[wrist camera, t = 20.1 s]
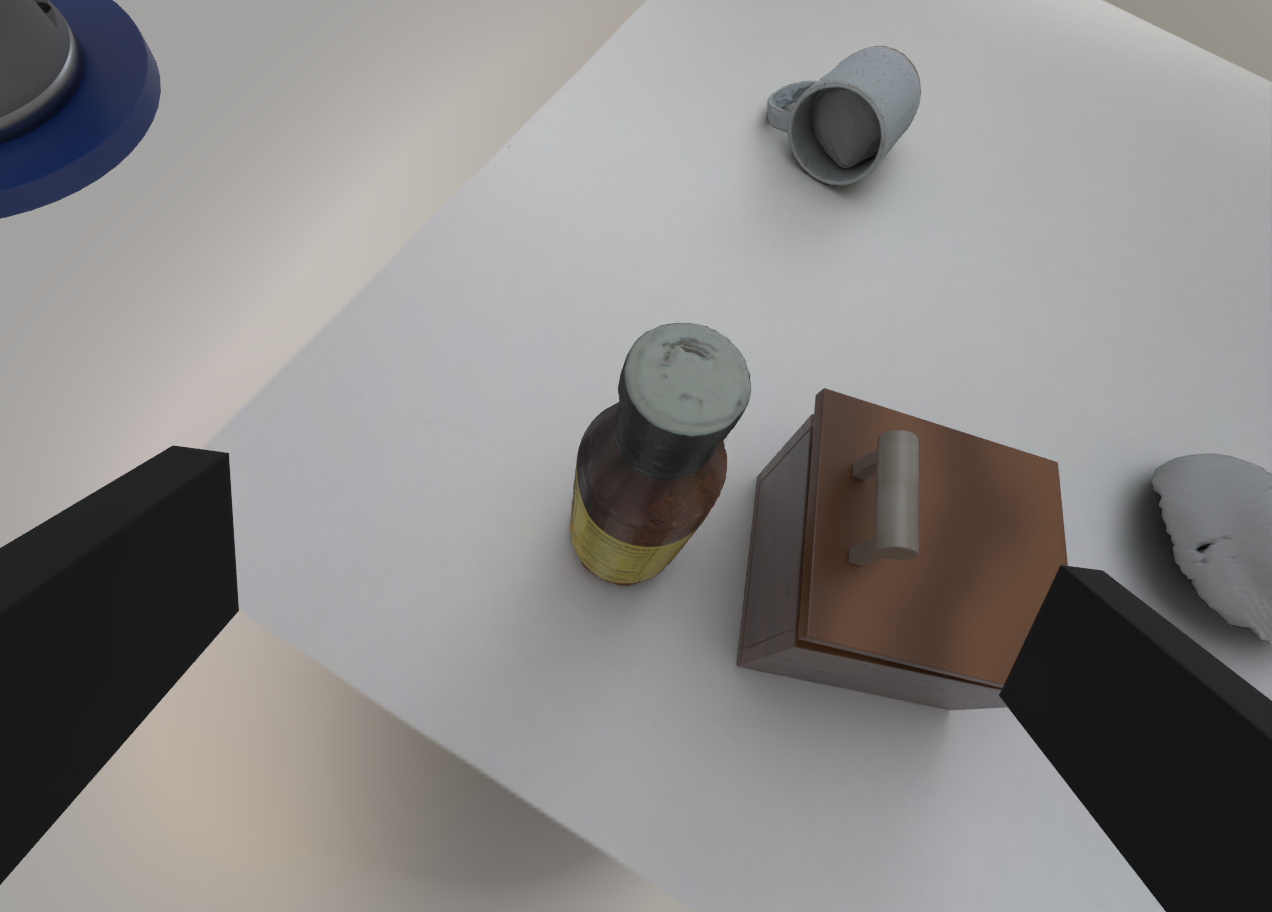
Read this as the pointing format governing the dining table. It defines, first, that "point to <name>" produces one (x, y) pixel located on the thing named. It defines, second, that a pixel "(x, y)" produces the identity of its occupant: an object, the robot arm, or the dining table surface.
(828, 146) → the ceramic mug
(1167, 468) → the grey clay mound
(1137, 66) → the dining table surface
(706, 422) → the sauce bottle
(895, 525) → the breadbox lid
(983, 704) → the box
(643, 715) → the dining table surface
